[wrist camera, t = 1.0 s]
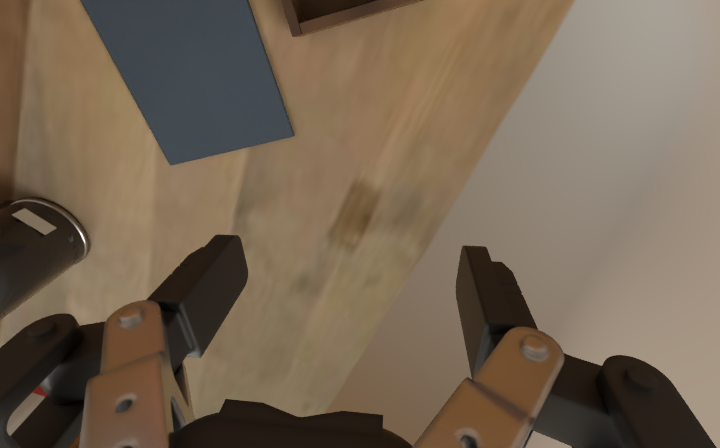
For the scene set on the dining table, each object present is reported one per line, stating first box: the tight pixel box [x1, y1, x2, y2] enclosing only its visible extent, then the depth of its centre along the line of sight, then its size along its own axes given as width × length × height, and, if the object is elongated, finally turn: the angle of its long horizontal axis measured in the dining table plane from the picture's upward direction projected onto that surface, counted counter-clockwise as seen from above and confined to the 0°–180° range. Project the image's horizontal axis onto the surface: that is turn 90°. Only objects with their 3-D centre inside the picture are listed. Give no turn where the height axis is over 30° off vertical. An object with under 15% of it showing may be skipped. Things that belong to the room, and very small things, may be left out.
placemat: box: [81, 0, 294, 165], centre depth 30 cm, size 14×20×1 cm
